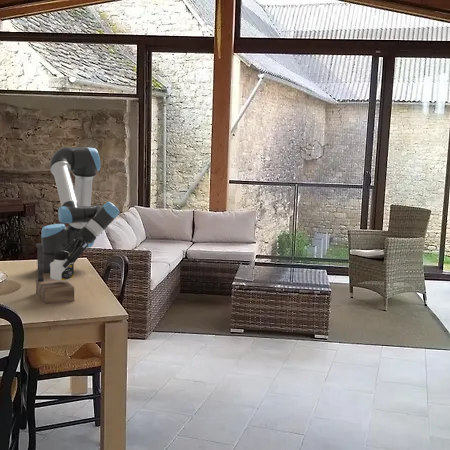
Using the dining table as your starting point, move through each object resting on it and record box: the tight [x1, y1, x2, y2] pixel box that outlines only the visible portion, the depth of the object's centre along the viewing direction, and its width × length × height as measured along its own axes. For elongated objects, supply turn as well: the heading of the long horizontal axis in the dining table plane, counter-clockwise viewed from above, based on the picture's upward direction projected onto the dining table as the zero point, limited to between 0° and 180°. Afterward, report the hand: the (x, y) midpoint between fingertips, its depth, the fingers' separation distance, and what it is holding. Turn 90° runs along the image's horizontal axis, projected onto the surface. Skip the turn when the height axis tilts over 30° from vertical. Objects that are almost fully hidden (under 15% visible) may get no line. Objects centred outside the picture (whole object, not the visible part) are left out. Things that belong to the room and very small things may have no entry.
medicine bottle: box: [49, 251, 75, 281], centre depth 266 cm, size 7×7×12 cm
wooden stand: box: [35, 243, 75, 305], centre depth 266 cm, size 20×12×22 cm, turn 29°
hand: (54, 269), depth 265 cm, fingers closed on medicine bottle, 9 cm apart
